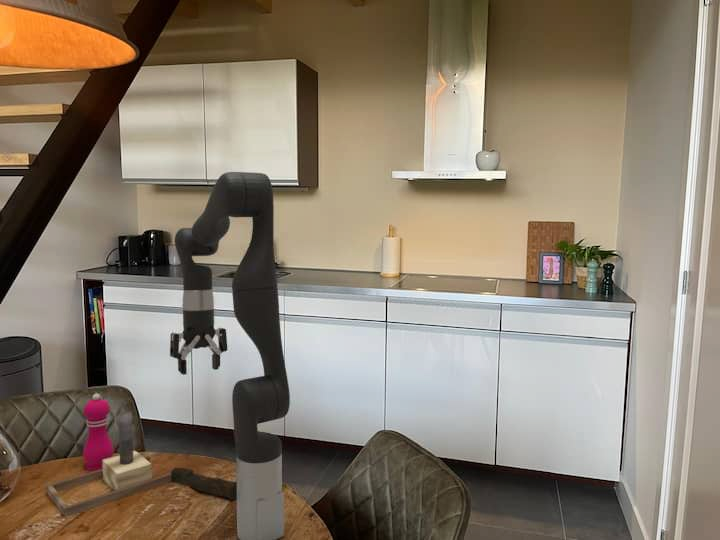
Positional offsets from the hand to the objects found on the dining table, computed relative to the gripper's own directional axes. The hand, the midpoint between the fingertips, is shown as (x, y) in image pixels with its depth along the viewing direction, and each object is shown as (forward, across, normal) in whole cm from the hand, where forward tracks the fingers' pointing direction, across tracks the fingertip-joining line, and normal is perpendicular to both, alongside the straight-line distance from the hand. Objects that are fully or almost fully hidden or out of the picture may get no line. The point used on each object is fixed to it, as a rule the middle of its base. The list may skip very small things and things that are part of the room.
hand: (199, 371), depth 144 cm
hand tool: (+27, -4, -8) cm, 29 cm away
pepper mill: (+26, -19, +19) cm, 38 cm away
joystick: (+25, -17, +5) cm, 31 cm away
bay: (+26, -21, +5) cm, 34 cm away
